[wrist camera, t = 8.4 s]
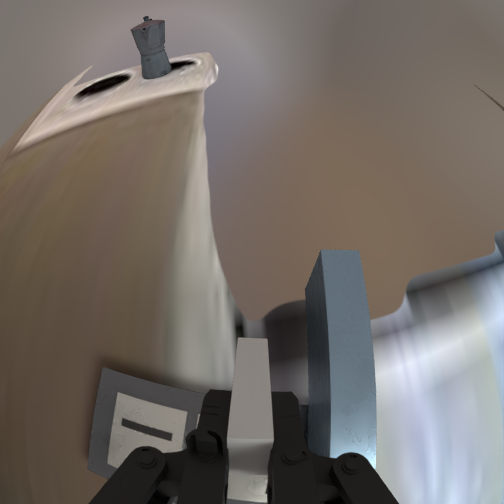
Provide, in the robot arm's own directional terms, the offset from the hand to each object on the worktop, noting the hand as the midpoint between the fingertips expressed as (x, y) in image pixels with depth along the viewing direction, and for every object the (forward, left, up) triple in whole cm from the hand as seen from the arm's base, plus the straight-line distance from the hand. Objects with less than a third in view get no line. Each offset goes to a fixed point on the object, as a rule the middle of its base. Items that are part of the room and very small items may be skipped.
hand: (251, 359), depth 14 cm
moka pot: (-38, +72, -12) cm, 82 cm away
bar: (+6, -2, -9) cm, 11 cm away
